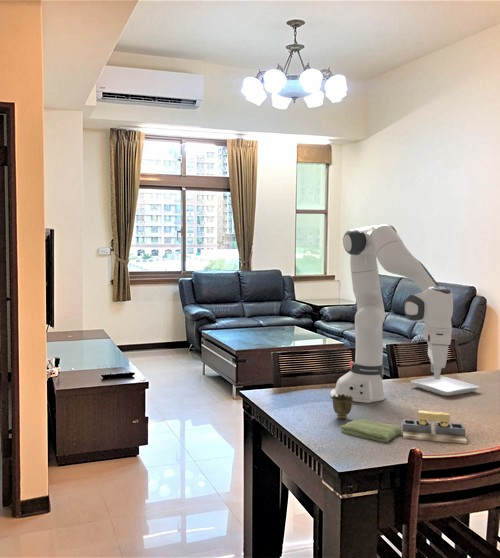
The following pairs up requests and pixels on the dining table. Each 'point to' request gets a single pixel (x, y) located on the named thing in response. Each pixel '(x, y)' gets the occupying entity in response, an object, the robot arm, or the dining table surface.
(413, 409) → the dining table surface
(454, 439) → the chain board
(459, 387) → the salad plate
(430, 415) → the tan bar
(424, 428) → the chain ends
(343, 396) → the cup
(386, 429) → the washcloth
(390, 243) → the robot arm
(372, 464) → the dining table surface
